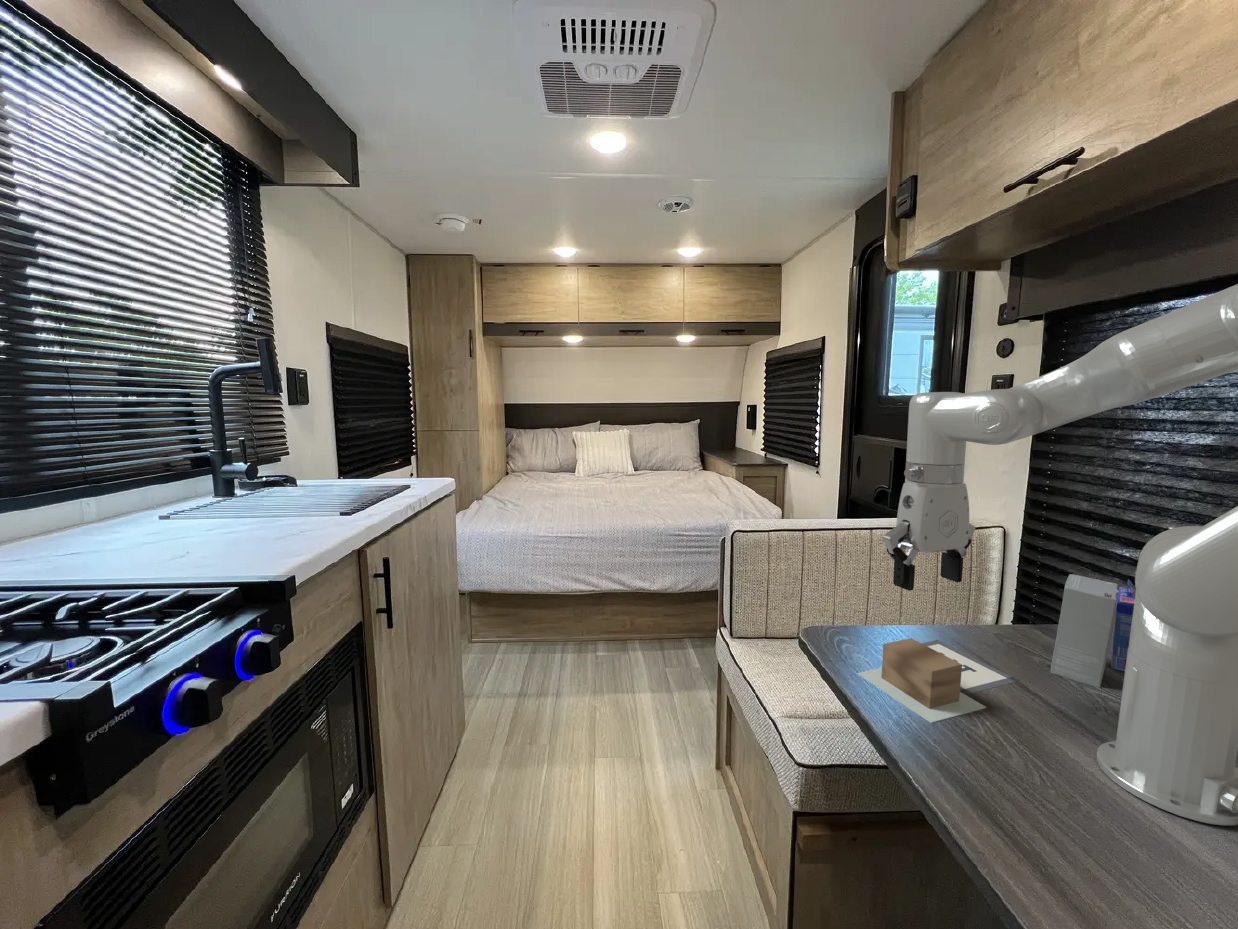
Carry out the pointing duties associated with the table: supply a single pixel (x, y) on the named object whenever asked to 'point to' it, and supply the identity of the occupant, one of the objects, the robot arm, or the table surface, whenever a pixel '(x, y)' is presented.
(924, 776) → the table surface
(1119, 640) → the ink cartridge box
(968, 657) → the grey framed panel
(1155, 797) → the robot arm
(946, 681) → the walnut block
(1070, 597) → the skincare box
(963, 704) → the sage mat
